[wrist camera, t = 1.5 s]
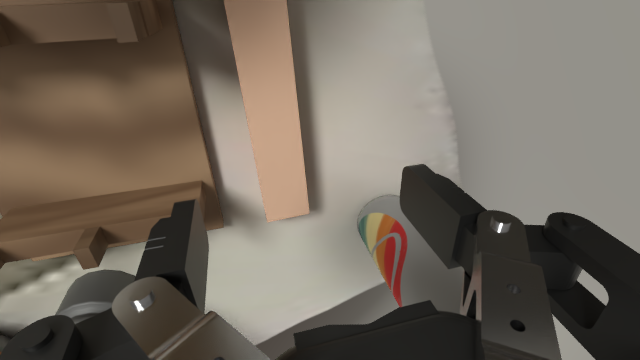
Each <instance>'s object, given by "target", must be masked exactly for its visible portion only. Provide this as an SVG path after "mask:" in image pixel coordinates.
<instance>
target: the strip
mask: <svg viewBox="0 0 640 360" xmlns="http://www.w3.org/2000/svg"><path fill="white" fill-rule="evenodd" d="M224 5H225V10H226V15H227V20H228V25H229V30H230V35H231V41H232V46H233V51H234V56H235V61H236V66H237V71H238V76H239V81H240V86H241V91H242V96H243V102H244V107H245V112H246V117H247V122H248V127H249V132H250V137H251V142H252V147H253V152H254V158H255V163H256V168H257V173H258V178H259V183H260V188H261V193H262V198H263V203H264V208H265V213H266V219H267V222H271V221H276V220H281V219H286V218H290V217H295V216H300V215H304V214H309V204H308V194H307V185H306V176H305V167H304V157H303V148H302V139H301V130H300V120H299V111H298V102H297V93H296V83H295V74H294V65H293V56H292V47H291V37H290V28H289V19H288V10H287V0H224Z"/></svg>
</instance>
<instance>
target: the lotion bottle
mask: <svg viewBox="0 0 640 360" xmlns="http://www.w3.org/2000/svg"><path fill="white" fill-rule="evenodd" d="M357 226H358V231H359V233H360V235H361V237H362V239H363V241H364V243H365V245H366V247H367V249H368V250H369V252H370V254H371V256H372V258H373V260H374V261H375V263H376V265H377V267H378V269H379V270H380V272H381V274H382V276H383V278H384V279H385V281H386V283H387V285H388V287H389V288H390V290H391V292H392V294H393V295H394V297H395V299H396V301H397V303H398V305H399V306H400V307H403V306H407V305H411V304H415V303H419V302H424V301H428V300H431V302H432V303H433V305H434V306H435V308H436V309H437V310H438V311H448V312H453V313H458V314H460V302H461V287H462V275H463V271H464V269H463V268H462V267H457V268H452V269H448V268H447V267H446V266H445V265H444V263H443V262H442V261H441V260H440V258H439V257H438V256H437V255H436V253H435V252H434V251H433V250H432V248H431V247H430V246H429V245H428V244H427V242H426V241H425V240H424V239H423V237H422V236H421V235H420V234H419V232H418V231H417V230H416V229H415V227H414V226H413V225H412V224H411V223H410V221H409V220H408V219H407V218H406V216H405V215H404V214H403V212H402V210H401V207H400V197H398V196H395V195H386V196H381V197H378V198H376V199H374V200H372V201H371V202H370V203H368V204H367V205H366V206H365V207H364V208H363V210H362V211H361V213H360V215H359V218H358V222H357Z"/></svg>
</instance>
